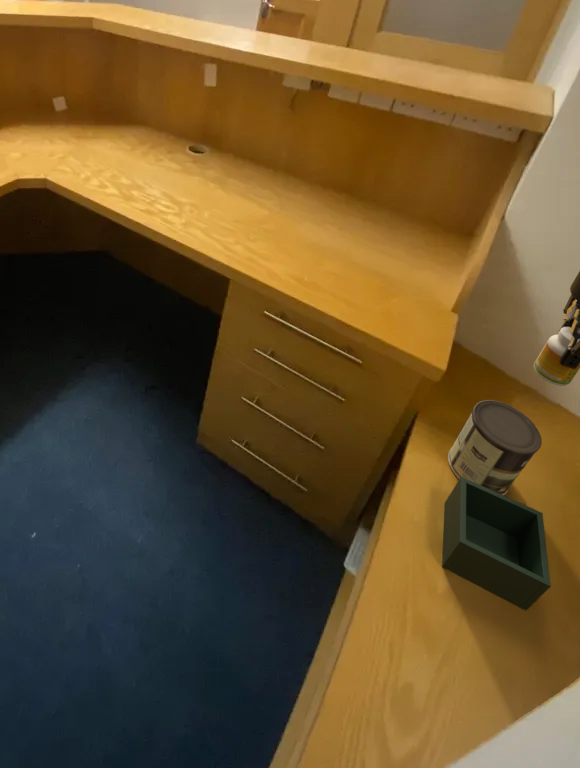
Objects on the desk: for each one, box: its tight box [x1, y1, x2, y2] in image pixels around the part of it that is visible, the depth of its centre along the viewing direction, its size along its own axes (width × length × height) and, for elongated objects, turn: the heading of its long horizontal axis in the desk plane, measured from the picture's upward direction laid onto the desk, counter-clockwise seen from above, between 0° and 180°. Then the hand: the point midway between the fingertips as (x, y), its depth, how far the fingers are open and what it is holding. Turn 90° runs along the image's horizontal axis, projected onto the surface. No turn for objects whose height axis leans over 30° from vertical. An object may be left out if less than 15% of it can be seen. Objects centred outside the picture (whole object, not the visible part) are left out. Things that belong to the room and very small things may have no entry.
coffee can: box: [447, 399, 543, 496], centre depth 93 cm, size 10×10×14 cm
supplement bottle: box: [533, 327, 580, 387], centre depth 87 cm, size 5×5×10 cm
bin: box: [441, 477, 552, 611], centre depth 83 cm, size 12×12×9 cm
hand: (564, 352), depth 87 cm, fingers closed on supplement bottle, 5 cm apart
